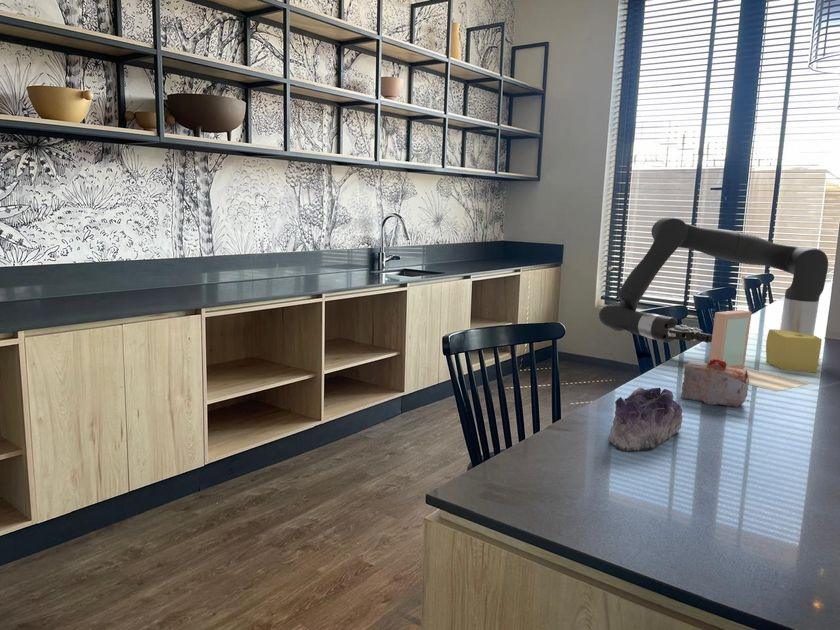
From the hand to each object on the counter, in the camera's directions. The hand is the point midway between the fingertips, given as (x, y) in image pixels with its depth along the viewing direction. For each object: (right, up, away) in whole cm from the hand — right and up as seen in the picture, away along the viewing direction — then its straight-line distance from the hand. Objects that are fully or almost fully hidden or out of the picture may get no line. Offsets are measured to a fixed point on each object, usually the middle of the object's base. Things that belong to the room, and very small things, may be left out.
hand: (710, 338), depth 177 cm
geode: (-38, -17, -56) cm, 70 cm away
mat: (+6, -10, -9) cm, 15 cm away
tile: (+3, -8, -3) cm, 9 cm away
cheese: (+25, -9, +5) cm, 27 cm away
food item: (-14, -13, -31) cm, 37 cm away
